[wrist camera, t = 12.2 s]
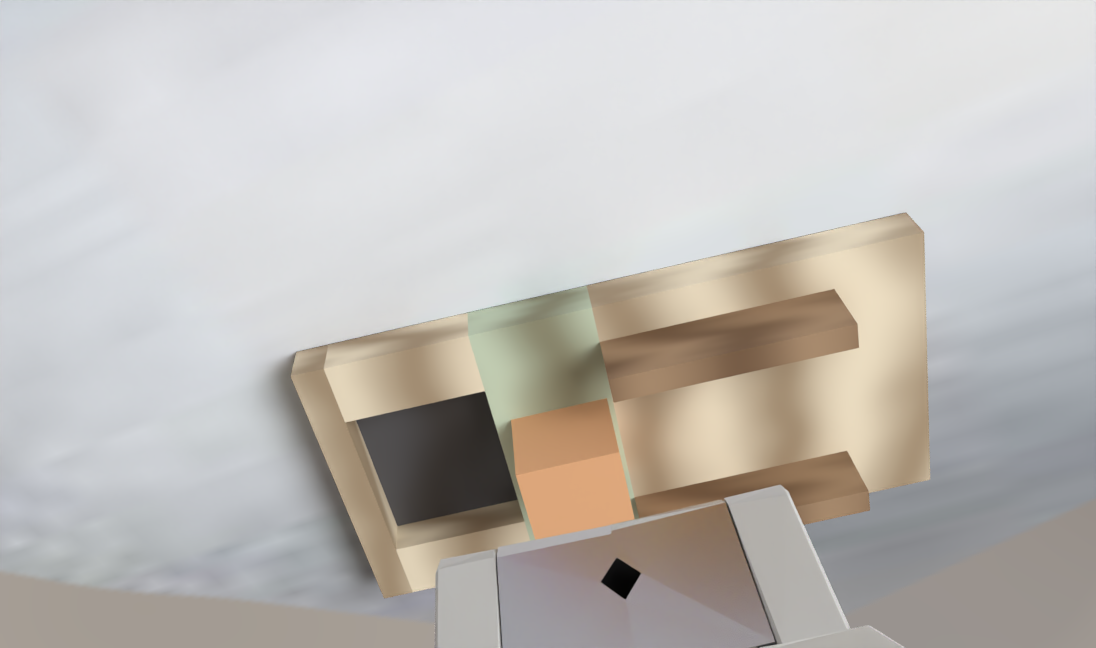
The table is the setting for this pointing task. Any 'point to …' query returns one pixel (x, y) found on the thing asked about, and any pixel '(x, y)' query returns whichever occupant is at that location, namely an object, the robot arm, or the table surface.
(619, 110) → the table surface
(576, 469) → the block
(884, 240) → the tunnel board
